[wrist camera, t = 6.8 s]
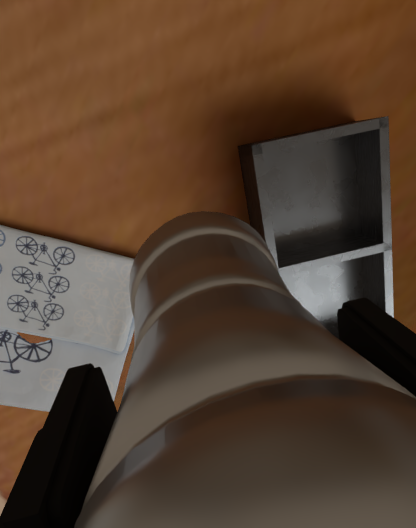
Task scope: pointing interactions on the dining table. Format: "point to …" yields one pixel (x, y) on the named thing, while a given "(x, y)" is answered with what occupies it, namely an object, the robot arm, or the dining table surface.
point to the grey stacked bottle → (245, 401)
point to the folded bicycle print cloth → (59, 315)
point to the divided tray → (325, 213)
